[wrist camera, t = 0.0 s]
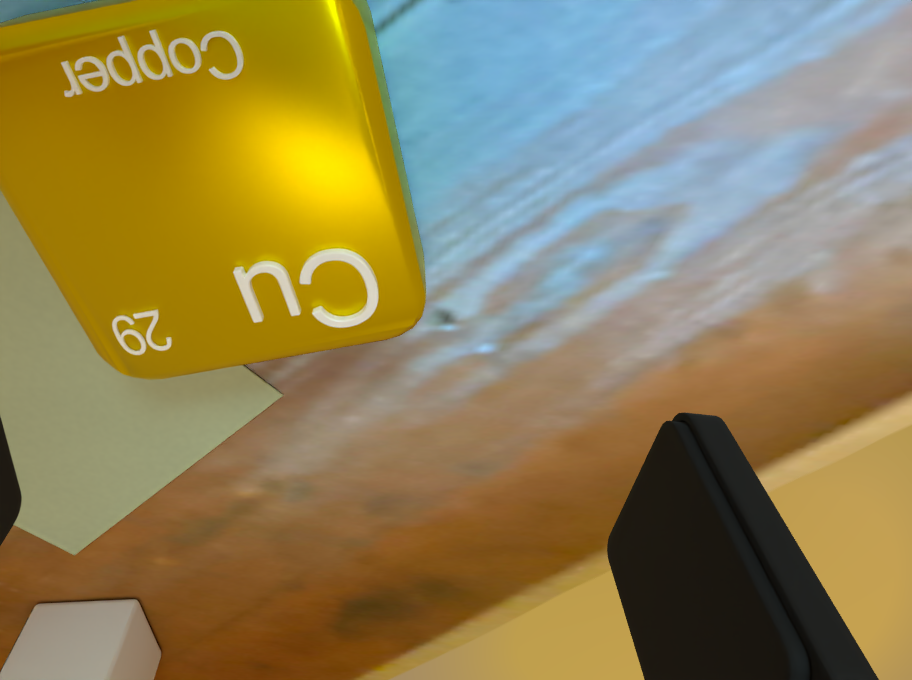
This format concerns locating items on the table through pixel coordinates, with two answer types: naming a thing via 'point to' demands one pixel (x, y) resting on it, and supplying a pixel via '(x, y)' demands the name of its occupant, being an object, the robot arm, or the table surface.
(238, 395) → the mat
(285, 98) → the element tile
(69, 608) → the medicine bottle
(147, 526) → the table surface
